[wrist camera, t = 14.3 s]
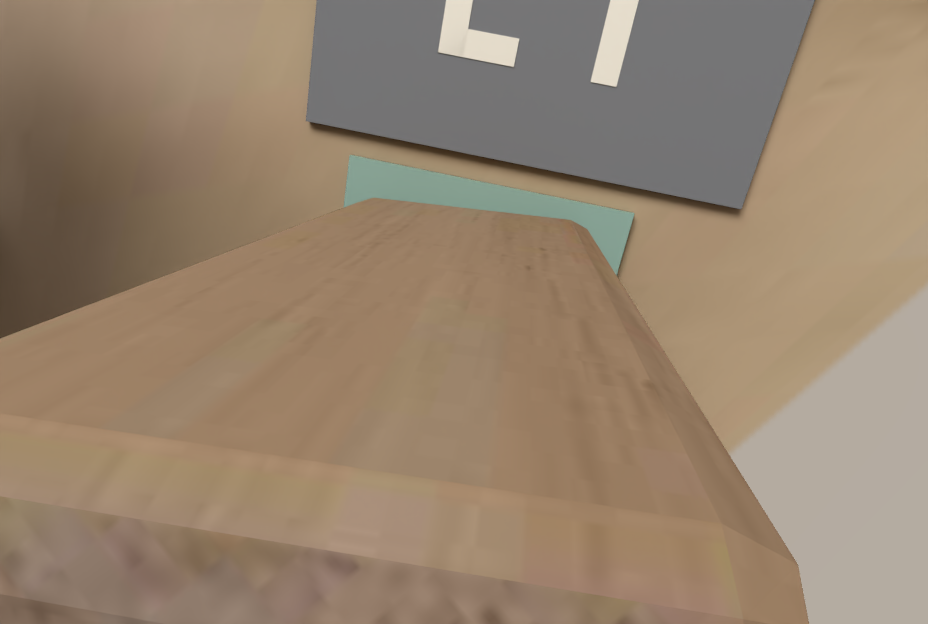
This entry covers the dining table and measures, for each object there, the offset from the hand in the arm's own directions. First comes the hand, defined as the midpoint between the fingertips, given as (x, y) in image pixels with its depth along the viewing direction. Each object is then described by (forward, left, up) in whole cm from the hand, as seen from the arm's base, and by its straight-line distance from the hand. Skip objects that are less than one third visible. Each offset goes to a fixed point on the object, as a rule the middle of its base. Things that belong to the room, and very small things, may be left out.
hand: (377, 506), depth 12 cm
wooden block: (0, 0, -14) cm, 14 cm away
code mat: (+1, +13, -14) cm, 19 cm away
